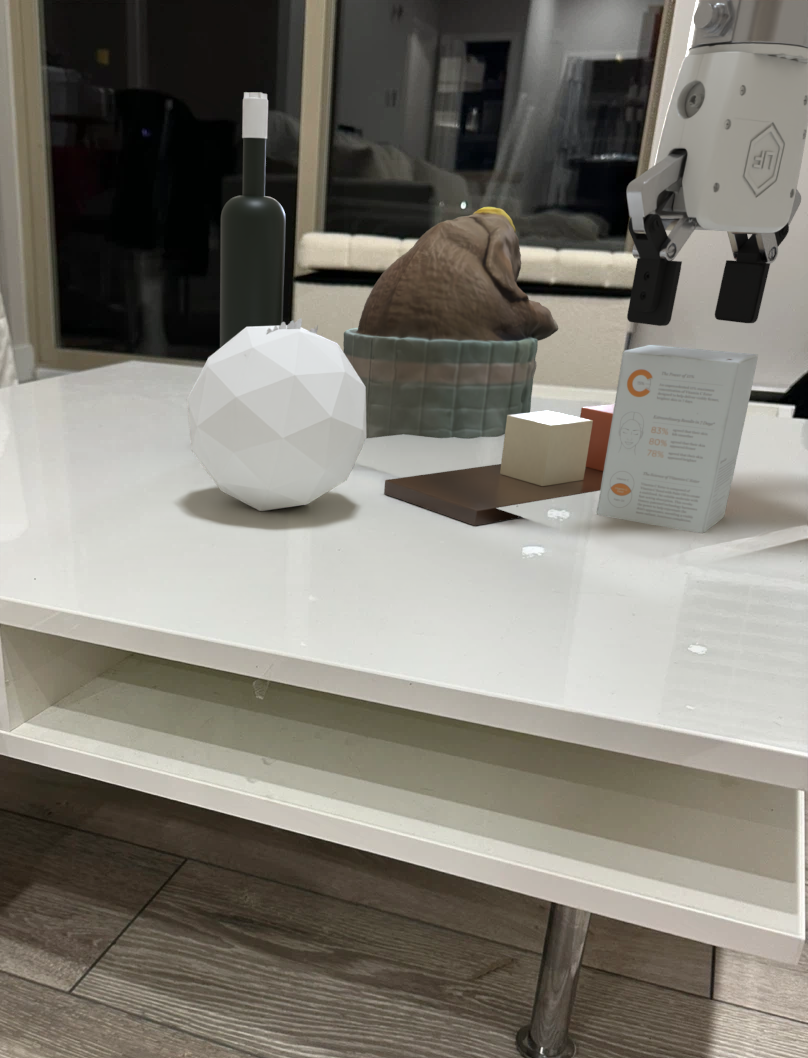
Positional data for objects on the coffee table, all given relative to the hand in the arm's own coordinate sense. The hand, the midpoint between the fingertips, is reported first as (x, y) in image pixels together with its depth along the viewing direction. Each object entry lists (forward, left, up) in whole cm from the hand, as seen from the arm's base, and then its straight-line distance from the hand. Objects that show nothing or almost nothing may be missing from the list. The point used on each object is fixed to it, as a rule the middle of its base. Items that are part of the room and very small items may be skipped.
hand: (692, 322), depth 74 cm
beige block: (-1, -13, -14) cm, 19 cm away
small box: (0, 0, -15) cm, 15 cm away
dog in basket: (-13, -39, -15) cm, 44 cm away
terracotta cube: (-10, -13, -14) cm, 21 cm away
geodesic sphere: (+22, -20, -15) cm, 33 cm away
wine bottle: (+13, -38, -15) cm, 43 cm away
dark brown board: (-1, -13, -15) cm, 20 cm away
